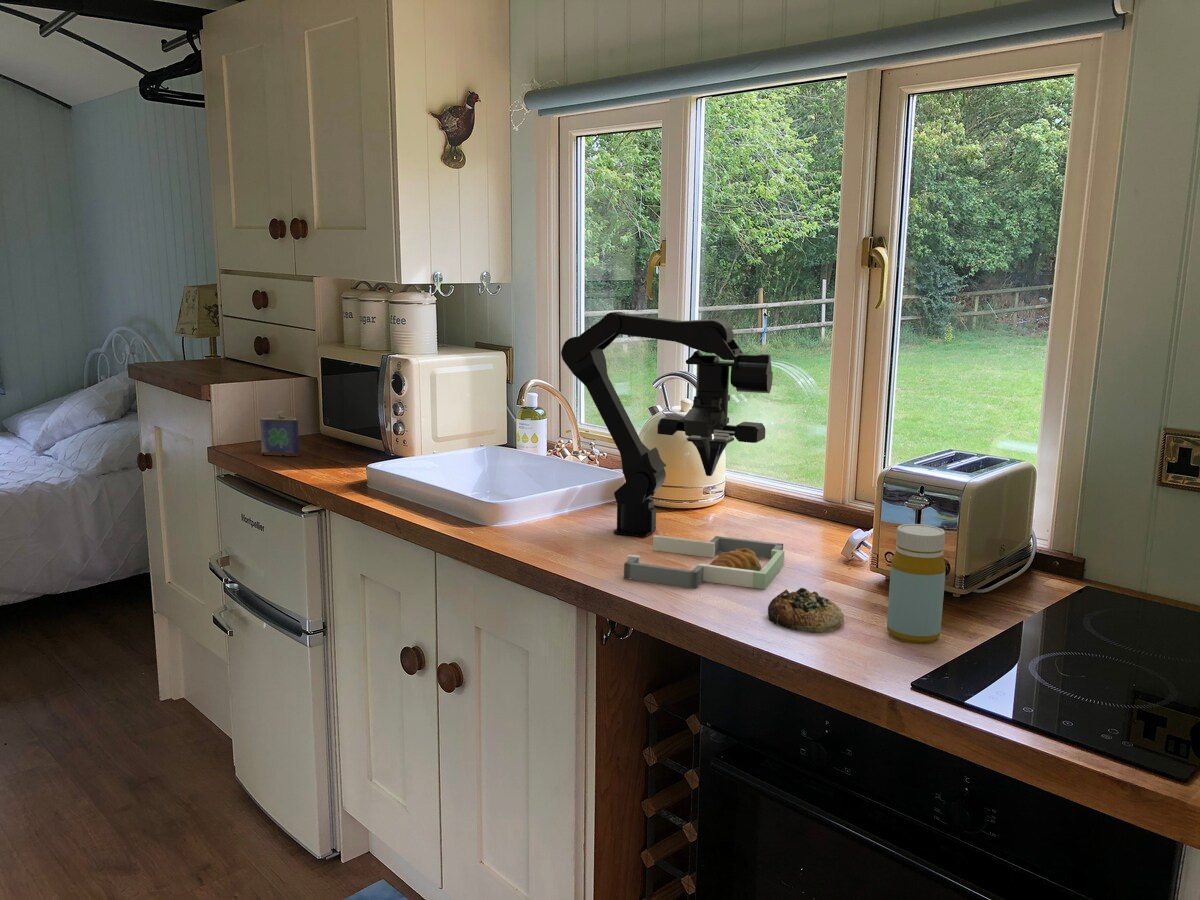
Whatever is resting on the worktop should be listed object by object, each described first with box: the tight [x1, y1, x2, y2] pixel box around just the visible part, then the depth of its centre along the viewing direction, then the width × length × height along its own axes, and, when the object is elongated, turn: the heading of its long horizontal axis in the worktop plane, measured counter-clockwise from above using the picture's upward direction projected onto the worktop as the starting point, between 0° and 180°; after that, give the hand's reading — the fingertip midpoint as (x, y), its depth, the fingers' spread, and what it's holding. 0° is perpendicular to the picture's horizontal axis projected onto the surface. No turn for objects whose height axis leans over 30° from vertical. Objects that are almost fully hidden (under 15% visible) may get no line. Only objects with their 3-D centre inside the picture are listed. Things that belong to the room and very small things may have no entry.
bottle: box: [886, 523, 947, 645], centre depth 134 cm, size 7×7×15 cm
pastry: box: [709, 548, 762, 571], centre depth 161 cm, size 9×7×4 cm
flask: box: [259, 410, 301, 453], centre depth 253 cm, size 10×3×12 cm, turn 84°
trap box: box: [623, 534, 785, 590], centre depth 164 cm, size 23×22×2 cm
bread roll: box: [767, 587, 845, 634], centre depth 141 cm, size 11×11×5 cm
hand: (709, 475), depth 179 cm, fingers closed
